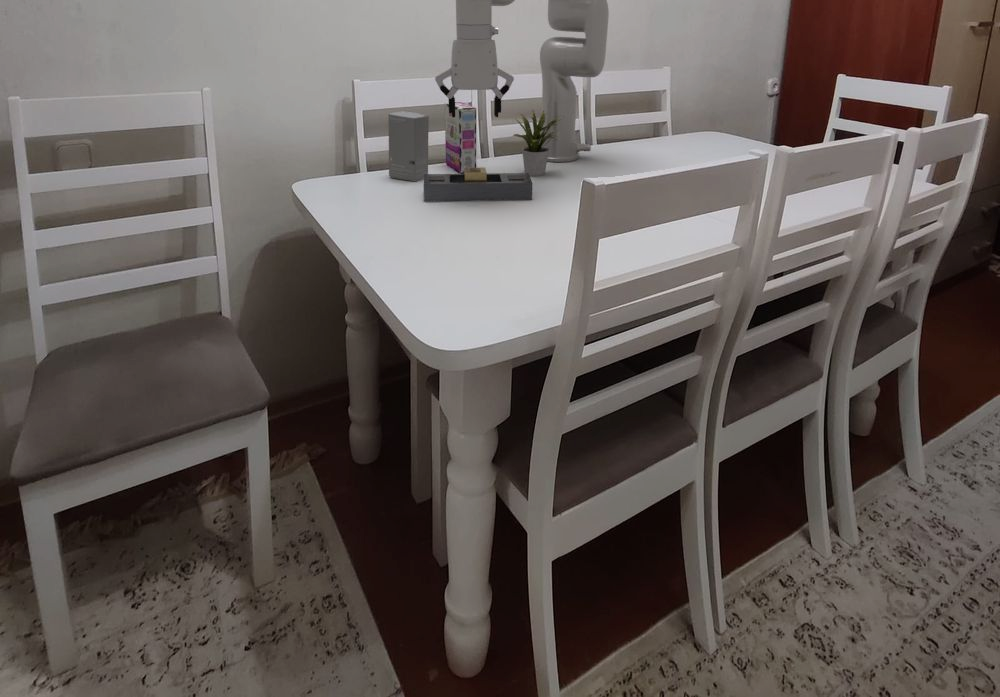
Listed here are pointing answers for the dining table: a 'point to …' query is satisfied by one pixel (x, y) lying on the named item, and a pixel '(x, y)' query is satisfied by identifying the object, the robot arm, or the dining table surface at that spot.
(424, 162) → the skincare box
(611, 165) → the dining table surface
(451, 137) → the candy bar box
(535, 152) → the house plant
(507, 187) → the grey slotted block
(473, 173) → the brass block
